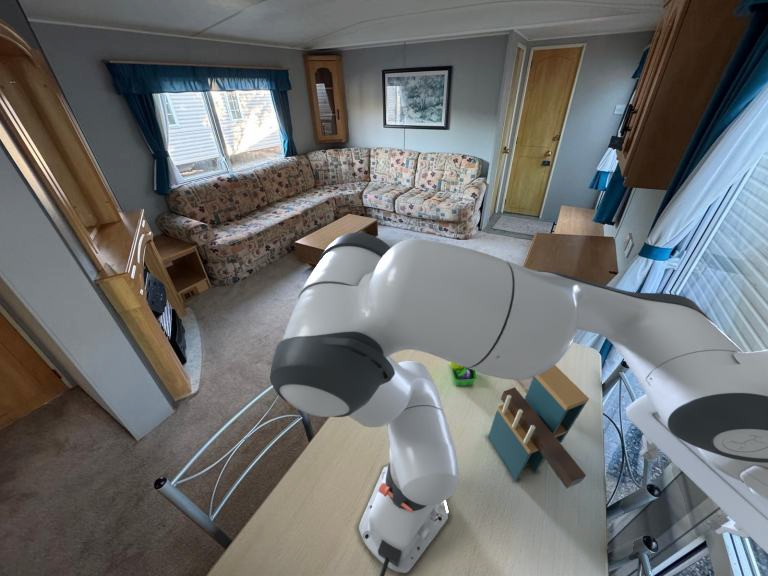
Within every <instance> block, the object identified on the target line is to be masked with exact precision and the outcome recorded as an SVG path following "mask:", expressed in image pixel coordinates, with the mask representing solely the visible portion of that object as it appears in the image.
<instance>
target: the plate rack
mask: <svg viewBox="0 0 768 576" xmlns="http://www.w3.org/2000/svg"><path fill="white" fill-rule="evenodd" d="M524 399H525V400H526V402H527V403H528V404H529V405H530V406H531V408H532V409H533V410H534V411H535V413H536V414H537V415H538V416H539V418H540V419H541V420H542V421H543V422H544V424H545V425H546V426H547V427H548V429H549V430H550V431H551V432H552V434H553V435H554V436H555V437H556V439H557V440H558V441H559V442H560V443H561V444H562V443H563V441H564V440H565V438H566V436H567V435H568V433H569V431H570V430H571V428H572V426H573V425H574V424H575V422H576V421H577V418H578V417H579V415H580V414H581V413H582V411H583V409H584V408H585V406H586V404H587V403H588V402H589V400H590V397H588V395H586V394H585V393H584V392H583V391H582V390H581V389H580V388H579V387H578V386H577V385H576V384H575V383H574V382H573V381H572V379H570V378H569V377H568V376H567V375H566V374H565V373H564V372H563V371H562V370H561V369H560V368H559V367H558V366H557V365H556V364H555V365H554V366H553V367H551V368H550V369H549V370H547V371H545V372H544V373H542V374H540V375H537V376H534V377H533V380H532V382H531V384H530V387H529V389H528V390H527V392H526V394H525V397H524ZM510 400H511V395H508V396H507V399H506V401H505V404H504V403H503V404H501V405H500V404H499V405H498V406H497V409H496V412H495V414H494V418H493V421H492V425H491V427H490V430H489V433H488V436H487V439H488V440H489V442H490V444H491V445H492V447H493V449H494V450H495V451H496V453H497V455H498V456H499V458H500V460H501V461H502V462H503V464H504V466H505V468H506V469H507V471H508V473H509V474H510V475H511V477H512V479H513V480H514V482H516V481H518V480H519V478H520V477H521V474H522V472H523V470H524V469H525V467H527V466H530V468H531V469H532V470H533V472H534V473H536V472H538V471H539V469H540V467H541V466H542V464H543V462H544V461H545V458H544V457H543V456H542V454H541V453H540V452H539V450H538V449H537V447H536V446H535V445H534V443H533V442H532V441H531V439H530V438H531V436H532V434H533V432H534V430H535V426H534V425H531V427H530V429H529V431H528V433H527V434H526V433H525V431H524V430H523V428H522V427H521V426H520V424H519V423H518V422H519V420H520V417H521V415H522V413H523V411H522V410H521V409H519V411H518V413H517V415H516V418H514V416H513V415H512V414H511V412H510V411H509V410H508V405H509V403H510Z"/></svg>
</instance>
